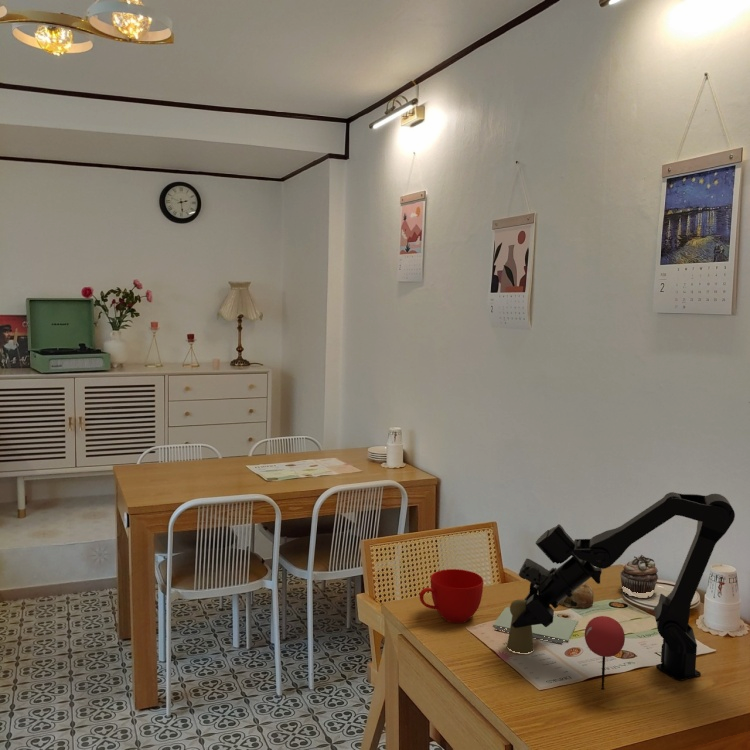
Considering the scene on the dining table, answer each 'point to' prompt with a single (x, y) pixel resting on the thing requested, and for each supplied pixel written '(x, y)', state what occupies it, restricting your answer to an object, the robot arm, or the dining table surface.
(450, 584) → the ceramic cup
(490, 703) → the dining table surface
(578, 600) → the bread roll
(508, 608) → the green spiral notebook
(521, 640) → the olive game pawn
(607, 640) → the lollipop
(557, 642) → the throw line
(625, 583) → the cupcake
